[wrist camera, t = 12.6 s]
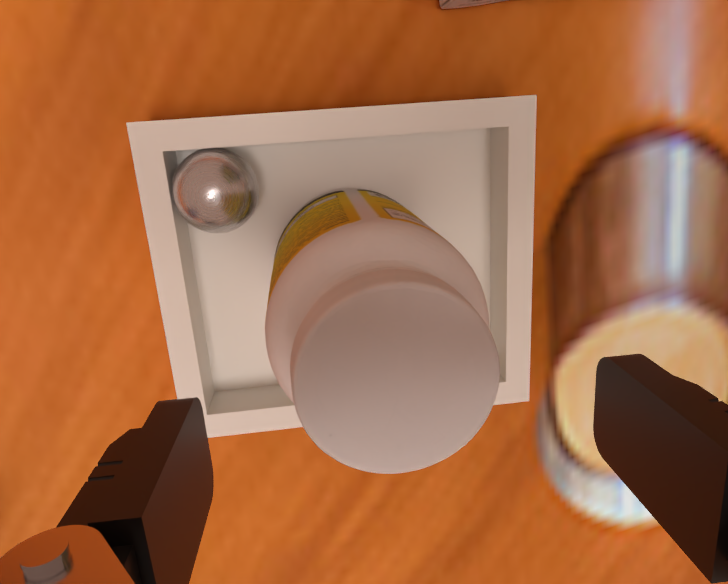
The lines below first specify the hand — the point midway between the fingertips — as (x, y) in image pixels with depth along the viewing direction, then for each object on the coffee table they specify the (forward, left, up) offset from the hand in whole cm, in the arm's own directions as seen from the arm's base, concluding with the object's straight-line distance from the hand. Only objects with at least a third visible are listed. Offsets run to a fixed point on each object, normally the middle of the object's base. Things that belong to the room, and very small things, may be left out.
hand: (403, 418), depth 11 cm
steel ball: (+5, -4, -12) cm, 14 cm away
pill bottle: (0, 0, -12) cm, 12 cm away
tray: (0, 0, -13) cm, 13 cm away
